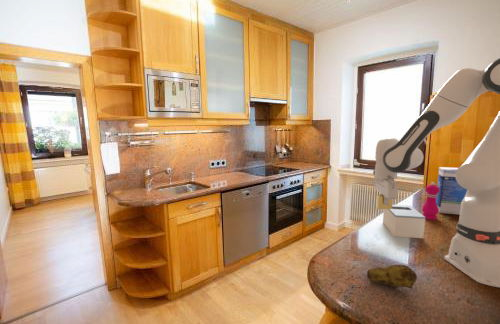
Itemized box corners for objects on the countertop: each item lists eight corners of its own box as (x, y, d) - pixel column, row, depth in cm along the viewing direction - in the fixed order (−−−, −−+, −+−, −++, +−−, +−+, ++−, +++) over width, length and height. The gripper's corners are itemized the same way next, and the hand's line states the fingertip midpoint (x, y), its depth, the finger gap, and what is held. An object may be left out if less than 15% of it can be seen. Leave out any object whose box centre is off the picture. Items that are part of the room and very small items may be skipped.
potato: (375, 272, 86) (376, 250, 85) (418, 291, 76) (420, 267, 75) (363, 282, 81) (365, 259, 79) (408, 303, 71) (411, 278, 70)
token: (392, 209, 112) (392, 196, 112) (378, 208, 113) (378, 196, 113) (390, 207, 114) (391, 195, 113) (376, 207, 115) (377, 194, 115)
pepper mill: (432, 215, 138) (436, 180, 135) (440, 220, 131) (445, 183, 128) (418, 215, 139) (422, 180, 136) (426, 220, 132) (430, 183, 129)
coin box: (423, 238, 111) (425, 217, 109) (393, 236, 113) (395, 215, 112) (408, 224, 126) (410, 205, 125) (382, 222, 129) (384, 204, 127)
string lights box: (461, 211, 145) (467, 168, 141) (467, 215, 138) (473, 170, 134) (434, 208, 149) (438, 166, 146) (438, 212, 142) (443, 168, 139)
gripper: (402, 178, 101) (401, 211, 103) (386, 170, 121) (385, 198, 123) (385, 178, 102) (384, 210, 104) (372, 170, 122) (371, 197, 124)
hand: (384, 203), depth 114 cm, fingers closed on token, 2 cm apart
